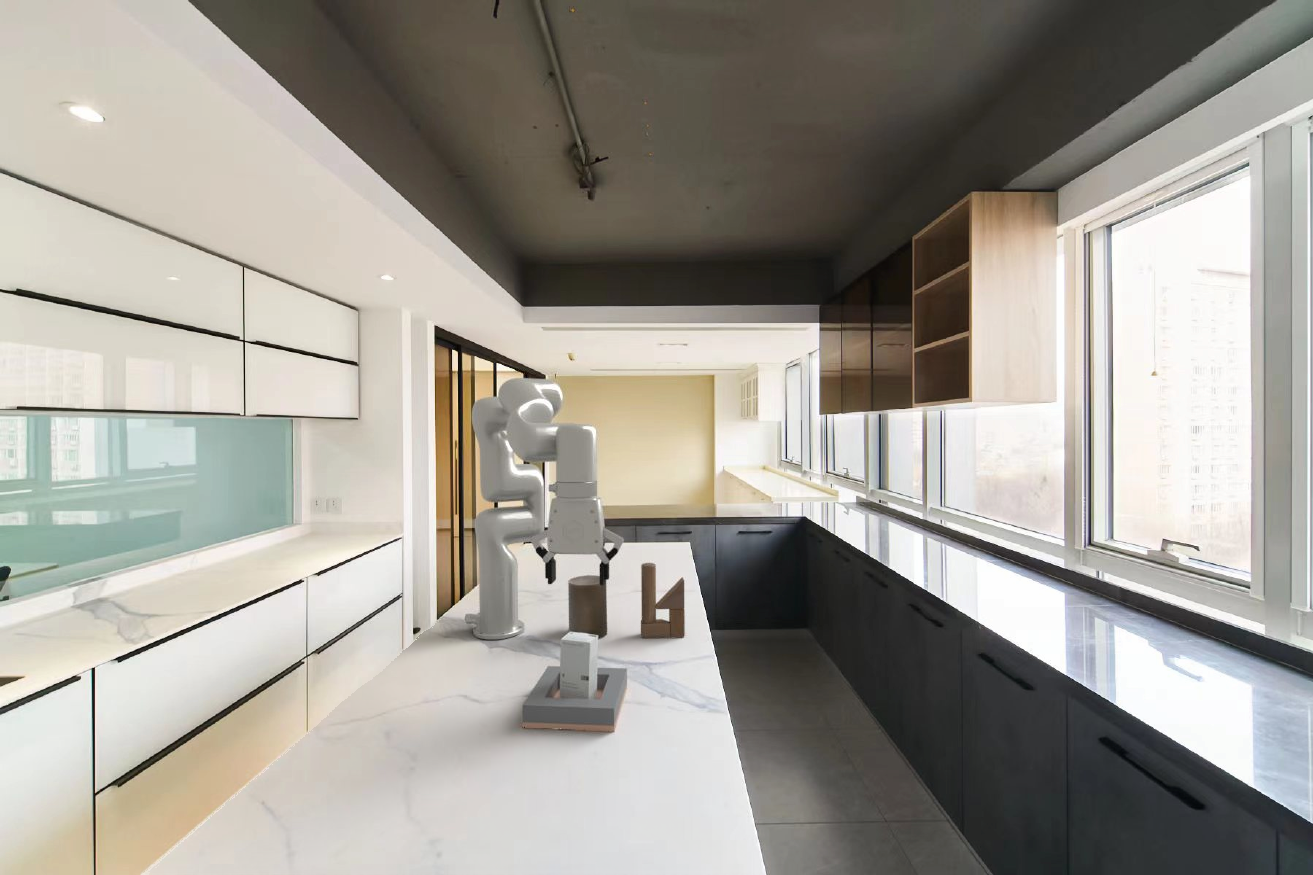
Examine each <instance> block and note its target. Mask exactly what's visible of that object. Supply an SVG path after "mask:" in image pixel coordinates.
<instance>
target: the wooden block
mask: <svg viewBox="0 0 1313 875" xmlns="http://www.w3.org/2000/svg"><path fill="white" fill-rule="evenodd" d="M656 566H657V565H656V563H654V562H643V563H642V564H641V567H640V569H641V574H640V575H641V578H640V580H641V583H640V584H641V585H640V586H641V591H640V592H641V619H640V637H641V639H658V638H659V639H660V638H661V639H663V638H666V637H667V638H671V637H675V638H685V636H686V634H685V633H686V632H685V631H686V630H685V629H686V628H685V626H686V625H685V624H686V623H685V622H686V621H685V620H686V618H685V616H686V615H685V579H684V577H683V576H682V577H681V578H680V579H679V580H678V581H676V583H675V584H674V585H673V586H672V587H671V588H670V589H669V590H668V591H667V592H666V593H665V594H664V595H663V597H661V598H660V599H659V600H658V601H657V578H656V577H657V574H656V573H657V569H656V568H657V567H656ZM657 610H668V616H669V617H668V618H669V619H668V620H666V619H663V618H658V619H657Z"/></svg>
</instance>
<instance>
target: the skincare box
mask: <svg viewBox="0 0 1313 875" xmlns="http://www.w3.org/2000/svg"><path fill="white" fill-rule="evenodd" d="M598 649H599V639H598V635H592V634H587V633H577V632H569V631H568V632H567V633H566V634H565V635H564V636H563V637H562V638H561V639H560V650H559V651H560V656H559V660H560V661H559V666H560V698H574V699H596V698H597V668H598V662H599V661H598V660H599V659H598V658H599V657H598V654H599V653H598V652H599V650H598Z"/></svg>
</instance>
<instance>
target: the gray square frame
mask: <svg viewBox="0 0 1313 875" xmlns="http://www.w3.org/2000/svg"><path fill="white" fill-rule="evenodd" d="M627 690H628V667H627V668H623V667H621V668H620V667H597V698H596V699H574V698H560V665H559V666H557V665H548V666H547V667H546V668H545V670H544V672H543V673H542V675H541V676H540V677H539V679H538V681H537V683H536V684H535V686H534V687H533V688H532V690H531V692H530V693H529V694H528V696H527V698H526V699H525V701H524V702H523V704H522V729H533V728H558V729H560V728H561V729H572V730H571V731H583V730H585V731H587V732H588V731H589V732H608V731H609V732H611V733H614V732H616V731H615V730H616V728H617V723H618V721H619V718H620V713H621V711H622V710H621V709H622V707H623V704H624V700H625V698H626V694H627ZM524 727H525V728H524ZM558 729H557V730H558ZM573 729H575V730H573Z"/></svg>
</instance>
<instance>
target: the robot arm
mask: <svg viewBox="0 0 1313 875" xmlns="http://www.w3.org/2000/svg"><path fill="white" fill-rule="evenodd" d="M563 402H564V394H563V392H562V389H561V387H560V385H559V383H557V382H555V381H554V380H552V379H547V378H529V377H528V378H526V377H516V378H511V379H508V380H506V381H504V382H503V383H502V384H501V385H500V387H499V389H498V396H487V397H482V398H479V399H477V400H476V401H475V402H474V404H473V406H472V409H471V422H472V428H473V431H474V435H475V438H476V440H477V444H478V449H479V478H480V479H479V480H480V481H479V483H480V484H479V486H480V494H481V497H482V498H483V499H484V501H486V502H489V503H506V502H507V503H509V502H523V505H513V506H502V507H491V508H488V509H484V510H482V511H480V512H479V513H478V514H477V516H476V517H475V520H474V531H475V537H476V544H477V550H478V551H477V552H478V573H479V574H478V576H479V578H478V581H479V584H478V589H479V590H478V592H479V593H478V595H479V598H478V600H479V601H478V602H479V603H478V604H479V612H477V613H476V614H475V613H465V615H464V621H465V624H467V625H469V624H470V625H475V626H474V627H473V632H472V633H473V635H474V636H475V637H476V638H479V639H482V640H488V641H489V640H492V641H493V640H503V639H509V638H512V637H516V636H518V635H520V634H521V633H522V632H523V631H525V622H523V621H522V620H520V619H519V586H518V585H519V580H518V579H519V577H518V574H519V573H518V571H519V569H518V568H519V567H518V566H519V563H518V559H517V557H516V556H515V554H514V553H513V552H512V551H511V550H510V549H509V547H508V546H509V545H514V544H520V543H522V544H523V543H529V542H531V544H532V546H533V549H534V550H535V553H536V554H537V555H538V556H539V557H540V558H541V559H542V561H543V563H544V568H545V569H544V570H545V573H544V574H545V579H547V585H552V584H553V583H555V582H556V581H557V580H556V579H557V560H556V558H555V555H557V554H558V555H596V556H597V557H598V559H599V560H600V561H601V562H600V563H599V576H600V585H604V584H605V583H606V584H607V581H608V580H610V561H611V560H612V559H613V558H614V557H615V556H616V555H618V553H619V551H620V549H621V547H622V545H623V544H624V541H625V539H624V537H622V536H620V535H619V534H617V533H615V532H613V531H610V530H609V529H608V528H606V526H605V517H604V509H603V502H602V498H601V497H599V496H598V432H597V429H596V427H595V426H594V425H592V424H588V423H587V424H586V423H585V424H584V423H571V422H569V423H568V422H563V423H559V422H554V423H553V422H552V421H553V419H554V418H555V417H556V416H557V415H558V414H559V413H560V410H561V409H562V406H563ZM505 432H506V433H505ZM515 456H517V458H519V459H520V460H522V461H523V462H525V463H523V464H522V463H521V464H520V463H519V464H516V462H515ZM552 462H553V463H555V474H556V475H555V476H556V477H555V480H556V481H555V483H553V484H548V492H552V493H554V496H555V497H553V498H551V502H550V507H549V513H548V514H549V515H548V524H547V525H548V526H547V529H546V530H545V523H546V521H545V520H546V516H545V515H546V513H545V481H544V476H543V473H542V471H541V469H540V468H539V467H538V466H537V465H535V464H530V463H552ZM545 539H547V542H546V543H547V548H546V547H545V546H544V545H543V544H542V541H543V540H545ZM606 539H607V540H609V541H611V542H613V547H612V548H611V549H610V550H609V551H608V550H607V549H606V547H605V545H606ZM547 549H548V550H547Z"/></svg>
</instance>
